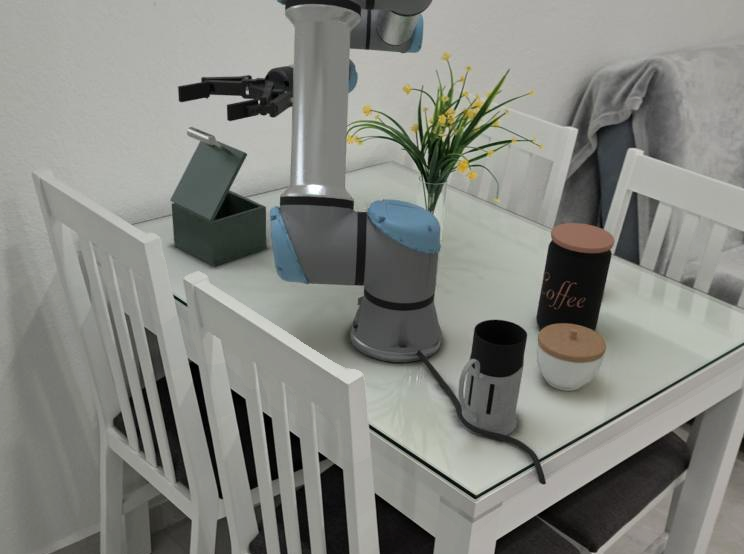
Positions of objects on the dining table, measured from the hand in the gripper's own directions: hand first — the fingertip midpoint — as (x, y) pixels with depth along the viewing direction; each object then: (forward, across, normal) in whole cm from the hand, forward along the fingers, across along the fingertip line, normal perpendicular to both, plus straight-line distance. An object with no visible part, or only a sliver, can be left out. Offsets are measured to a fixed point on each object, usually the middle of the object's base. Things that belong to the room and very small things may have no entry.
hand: (203, 103), depth 162 cm
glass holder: (+9, -73, -29) cm, 79 cm away
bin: (-3, 0, -29) cm, 29 cm away
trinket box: (-12, -74, -29) cm, 81 cm away
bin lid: (-1, 0, -14) cm, 14 cm away
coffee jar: (-27, -65, -29) cm, 76 cm away
